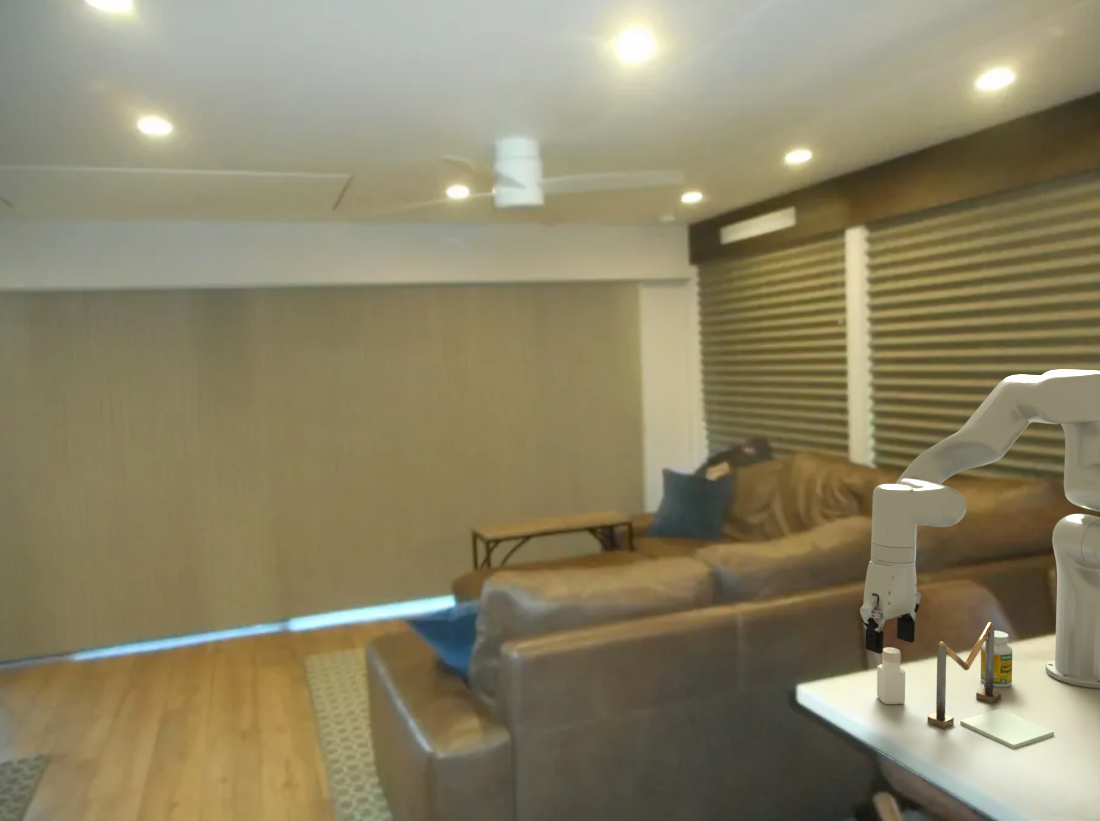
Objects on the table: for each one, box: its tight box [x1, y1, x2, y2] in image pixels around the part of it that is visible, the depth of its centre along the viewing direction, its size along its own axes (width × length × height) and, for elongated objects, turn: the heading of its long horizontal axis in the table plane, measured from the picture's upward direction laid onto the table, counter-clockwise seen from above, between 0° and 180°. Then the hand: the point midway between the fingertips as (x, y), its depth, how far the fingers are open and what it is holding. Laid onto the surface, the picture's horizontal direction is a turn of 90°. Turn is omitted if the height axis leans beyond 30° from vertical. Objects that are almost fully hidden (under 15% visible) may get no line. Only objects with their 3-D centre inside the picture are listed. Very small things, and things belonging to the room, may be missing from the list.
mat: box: [959, 708, 1055, 749], centre depth 144 cm, size 10×10×1 cm
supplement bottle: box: [980, 630, 1013, 688], centre depth 163 cm, size 5×5×10 cm
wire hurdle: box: [927, 621, 1002, 730], centre depth 151 cm, size 19×3×14 cm, turn 125°
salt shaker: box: [876, 646, 906, 705], centre depth 156 cm, size 4×4×10 cm
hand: (889, 645), depth 155 cm, fingers open, 9 cm apart
